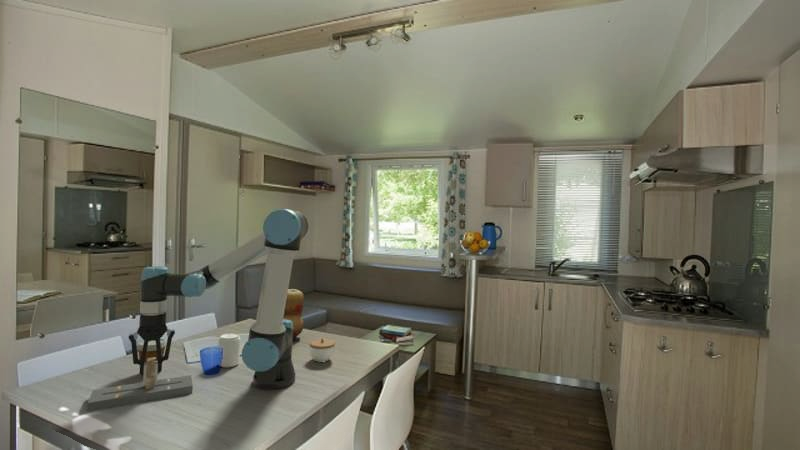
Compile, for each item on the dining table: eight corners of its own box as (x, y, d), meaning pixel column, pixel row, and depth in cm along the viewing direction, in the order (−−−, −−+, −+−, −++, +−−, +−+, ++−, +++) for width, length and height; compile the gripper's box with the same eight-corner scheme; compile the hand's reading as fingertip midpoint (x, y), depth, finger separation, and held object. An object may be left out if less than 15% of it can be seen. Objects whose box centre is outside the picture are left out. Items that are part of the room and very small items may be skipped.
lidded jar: (315, 366, 158) (316, 344, 158) (304, 358, 166) (305, 337, 166) (338, 361, 164) (339, 340, 164) (326, 354, 173) (327, 333, 173)
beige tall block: (154, 383, 129) (155, 357, 129) (154, 388, 126) (155, 361, 126) (146, 384, 128) (147, 358, 128) (145, 389, 124) (146, 362, 124)
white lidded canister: (213, 366, 153) (214, 336, 153) (229, 359, 161) (230, 331, 161) (228, 369, 150) (229, 339, 150) (243, 363, 158) (244, 334, 158)
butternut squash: (288, 344, 184) (290, 293, 184) (269, 339, 191) (271, 289, 191) (308, 337, 196) (310, 289, 196) (290, 333, 202) (292, 286, 202)
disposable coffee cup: (150, 379, 138) (152, 347, 138) (129, 376, 140) (130, 344, 140) (171, 370, 147) (172, 339, 147) (150, 367, 149) (152, 336, 149)
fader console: (190, 381, 138) (191, 374, 138) (192, 393, 129) (192, 385, 129) (92, 397, 123) (93, 389, 123) (87, 411, 114) (87, 402, 114)
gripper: (179, 308, 134) (176, 374, 134) (126, 312, 126) (123, 382, 126) (180, 313, 128) (177, 382, 128) (123, 317, 120) (120, 391, 120)
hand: (150, 382), depth 127 cm, fingers closed on beige tall block, 2 cm apart
